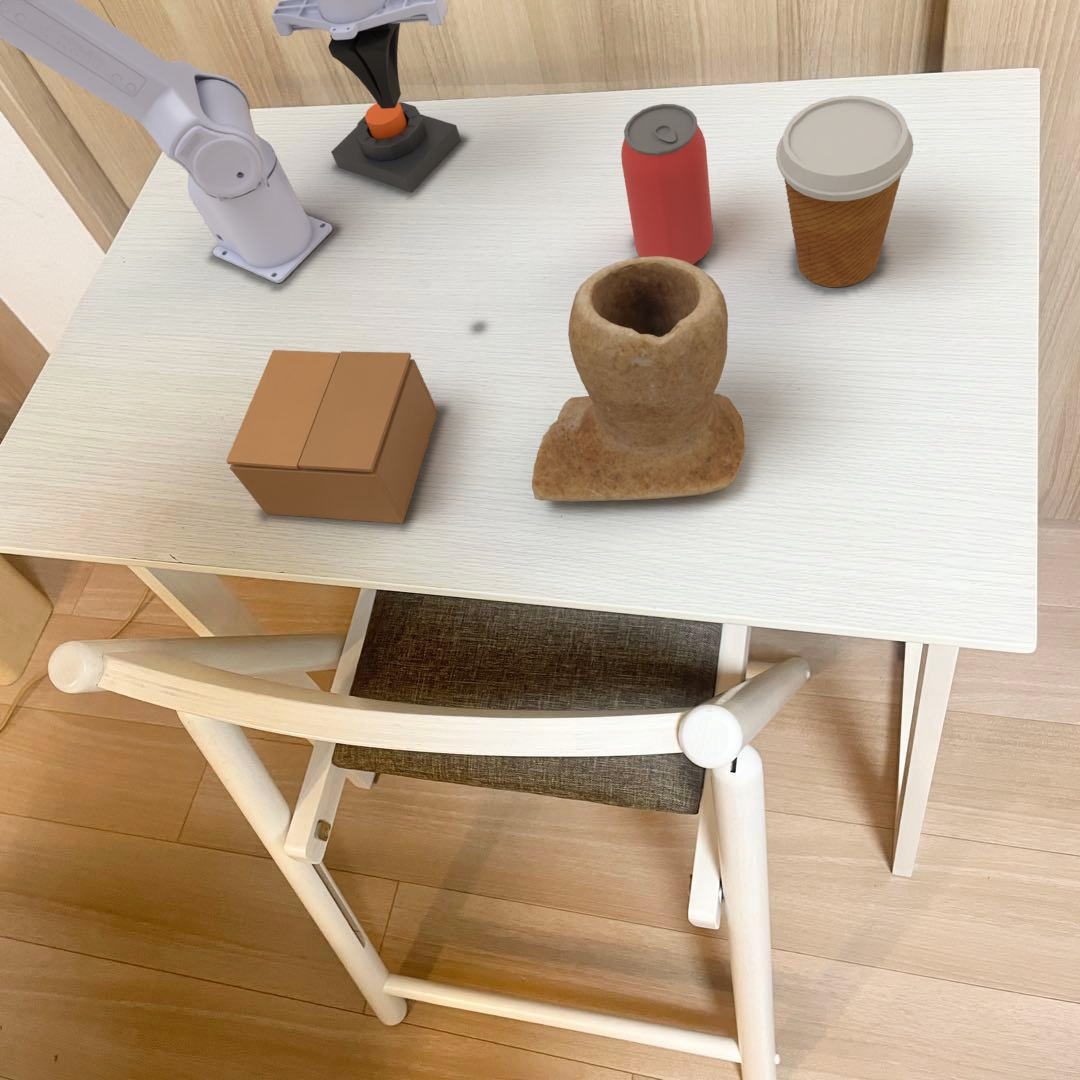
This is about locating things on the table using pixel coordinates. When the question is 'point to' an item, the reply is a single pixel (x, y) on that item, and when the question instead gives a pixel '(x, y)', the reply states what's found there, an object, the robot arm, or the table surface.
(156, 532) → the table surface
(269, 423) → the flap
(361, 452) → the carton
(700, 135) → the beer can
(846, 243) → the disposable coffee cup
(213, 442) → the table surface
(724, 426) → the stone cup
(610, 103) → the table surface
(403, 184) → the button box
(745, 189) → the table surface
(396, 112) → the button
